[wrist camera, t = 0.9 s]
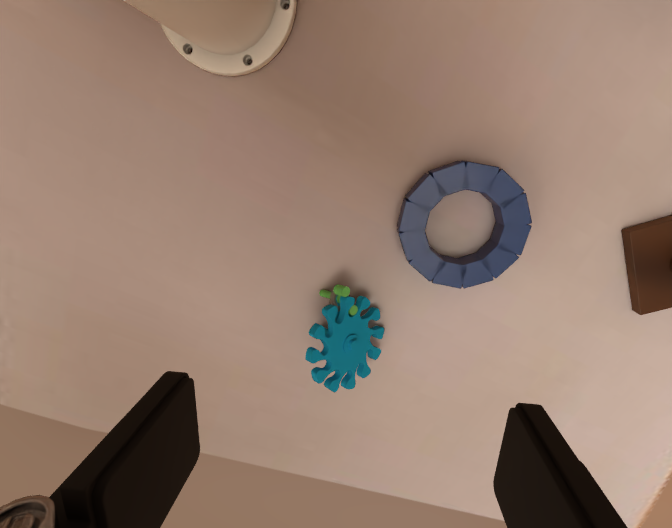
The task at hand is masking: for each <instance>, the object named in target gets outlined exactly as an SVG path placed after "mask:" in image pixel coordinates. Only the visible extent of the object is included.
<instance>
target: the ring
mask: <svg viewBox="0 0 672 528" xmlns="http://www.w3.org/2000/svg"><path fill="white" fill-rule="evenodd" d="M428 172H429V174H427V173H425V174H424V175H423V176H422V177H421V179H420V180H419V181H418V182H417V183H416V184H415V185H414V186H413V187H412V188H411V189H410V191H409V192H408V193H407V194H406V195H405V196H406V197H407V198H404V199H403V203H402V207H401V211H400V215H399V219H398V223H397V227H398V228H397V231H398V234H399V237H400V240H401V243H402V247H403V250H404V253H405V256H406V259H407V261H408V262H409V264H410V265H411V266H413V267H414V268H415V269H416V270H417V271H418V272H419V273H421V274H422V275H423V276H424V277H425V278H426V279H427V280H429V281H432V283H436V284H441V285H446V286H451V287H456V288H461V287H462V286H463V288H467V287H471V286H474V285H478V284H481V283H485V282H489V281H492V280H493V277H494V278H497V277H498V276H499V275H500V274H502V273H503V272H504V271H505V270H506V269H507V268H508V267H509V266H510V265H512V264H513V263H514V262H515V261H516V260H517V259H518V258H519V257H518V256H517V255H516V254H518V255H521V253H522V251H523V248H524V245H525V242H526V240H527V237H528V234H529V232H530V229H531V225H529V224H530V223H532V221H531V216H530V211H529V207H528V202H527V197H526V193H523V191H524V190H523V189H522V188H521V187H520V186H519V185H518V184H517V183H516V182H515V181H514V180H513V179H512V178H511V177H510V176H509V175H508V174H507V173H506V172H505V171H504V170H503V169H499V167H494V166H489V165H484V164H479V163H474V162H468V161H456V162H453V163H450V164H447V165H444V166H442V167H439V168H436V169H433V170H430V171H428ZM465 189H466V190H471V191H476V192H480V193H481V194H482V195H483V196H484V197H486V198H487V199H488V200H489V201H490V202H491V203H492V207H493V211H494V215H495V219H496V223H495V226H494V229H493V232H492V235H491V238H490V240H489V241H488V242H487V243H486V244H485V245H484V246H483V247H481V248H480V249H479V250H478V251H477V252H476V253H473V254H470V255H466V256H463V257H460V258H454V257H449V256H444V255H439V254H438V253H437V252H436V251H435V250H434V249H433V248H431V247H430V246H429V244H428V240H427V237H426V233H425V228H426V224H427V220H428V217H429V213H430V211H431V210H432V209H433V208H434V207H435V206H436V205H437V203H438V202H439V201H440V200H441V199H442V198H443V197H444V196H446V195H449V194H452V193H455V192H458V191H462V190H465Z"/></svg>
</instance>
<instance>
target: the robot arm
mask: <svg viewBox="0 0 672 528" xmlns="http://www.w3.org/2000/svg"><path fill="white" fill-rule="evenodd" d="M123 1H124V2H126V3H128V4H129V5H131V6H133V7H134V8H136V9H138V10H139V11H141V12H143V13H144V14H146V15H147V16H149V17H151V18H152V19H154V20H156V21H157V22H159V23H160V25H161V27H162V29H163V31H164V33H165V35H166V37H167V38H168V39H169V41H170V42H171V43H172V45H173V46H174V47H175V49H176V50H177V51H178V52H179V53H180V54H181V55H182V56H183V57H184V58H186V59H187V60H188V61H190V62H191V63H193V64H194V65H196V66H197V67H199V68H201V69H203V70H205V71H207V72H210V73H214V74H217V75H221V76H240V75H246V74H249V73H251V72H254V71H257V70H259V69H260V68H262V67H263V66H265V65H266V64H268V63H269V62H270V61H271V60H272V59H273V58H274V57H275V56H276V55H277V54H278V53H279V51H280V50H281V49H282V47H283V46H284V44H285V43H286V41H287V39H288V36H289V34H290V32H291V30H292V27H293V23H294V19H295V15H296V6H297V0H123ZM286 5H290V7H289V8H288V9H287V10H285V6H286ZM191 49H193V50H192V53H190V50H191ZM251 59H252V61H253V62H252V64H251V65H249V64H248V62H249V60H251ZM199 453H200V443H199V433H198V422H197V411H196V400H195V389H194V381H193V379H192V378H189V376H188V374H187V373H183V372H172V371H168V372H166V373H164V374H163V376H162V377H161V378H160V379H159V380H158V381H157V382H156V383H155V384H154V385H153V386H152V387H151V389H150V390H149V391H148V392H147V393H146V394H145V395H144V396H143V397H142V398H141V399H140V400H139V401H138V403H137V404H136V405H135V406H134V407H133V408H132V409H131V410H130V411H129V412H128V413H127V414H126V416H125V417H124V418H123V419H122V420H121V421H120V422H119V423H118V424H117V425H116V426H115V427H114V428H113V429H112V430H111V431H110V432H109V433H108V435H107V436H106V437H105V438H104V439H103V440H102V441H101V442H100V443H99V444H98V445H97V447H96V448H95V449H94V450H93V451H92V452H91V453H90V454H89V455H88V456H87V457H86V458H85V459H84V460H83V462H82V463H81V464H80V465H79V466H78V467H77V468H76V469H75V470H74V471H73V472H72V474H71V475H70V476H69V477H68V478H67V479H66V480H65V481H64V482H63V483H62V484H61V485H60V487H58V489H57V490H56V491H55V492H54V493H53V494H52V495H51V496H50V497H46V496H42V495H35V496H27V497H23V498H20V499H17V500H14V501H12V502H10V503H8V504H6V505H3V506H2V507H0V528H160V527H161V525H162V523H163V522H164V520H165V518H166V516H167V514H168V512H169V511H170V509H171V507H172V505H173V504H174V502H175V500H176V498H177V496H178V495H179V493H180V491H181V489H182V487H183V486H184V484H185V482H186V480H187V478H188V477H189V475H190V473H191V471H192V470H193V468H194V466H195V464H196V462H197V460H198V457H199ZM494 492H495V495H496V498H497V501H498V504H499V506H500V509H501V512H502V514H503V517H504V520H505V523H506V525H507V528H627V526H626V525H625V523H624V522H623V521H622V519H621V518H620V516H619V515H618V513H617V512H616V510H615V509H614V507H613V506H612V504H611V503H610V502H609V500H608V499H607V497H606V496H605V494H604V493H603V491H602V490H601V488H600V487H599V486H598V484H597V483H596V481H595V480H594V478H593V477H592V475H591V474H590V472H589V471H588V470H587V468H586V467H585V466H584V464H583V463H582V462H581V461H579V460H578V458H577V457H576V455H575V454H574V452H573V451H572V450H571V448H570V447H569V445H568V444H567V442H566V441H565V439H564V438H563V436H562V435H561V433H560V432H559V430H558V429H557V427H556V426H555V425H554V423H553V422H552V420H551V419H550V417H549V416H548V414H547V413H546V411H545V410H544V408H543V407H542V406H541V405H537V404H526V403H518V404H517V405H516V407H515V408H510V410H509V414H508V418H507V423H506V427H505V431H504V436H503V440H502V445H501V449H500V454H499V458H498V463H497V467H496V472H495V476H494Z"/></svg>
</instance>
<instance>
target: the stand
mask: <svg viewBox="0 0 672 528" xmlns="http://www.w3.org/2000/svg"><path fill="white" fill-rule="evenodd" d="M622 236H623V243H624V250H625V258H626V265H627V273H628V280H629V287H630V295H631V302H632V310H633V311H635V312H636V313H638V314H640V315H643V314H647V313H651V312H655V311H659V310H663V309H667V308H671V307H672V215H671V216H667V217H664V218H660V219H657V220H653V221H650V222H646V223H643V224H639V225H636V226H632V227H629V228H625V229H622Z"/></svg>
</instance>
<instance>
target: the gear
mask: <svg viewBox="0 0 672 528" xmlns="http://www.w3.org/2000/svg"><path fill="white" fill-rule="evenodd" d="M349 293H350V289H349V287H346V286H343V285H336V286H335V287H334V290H333V291H332V292H330V291H326V290H320V292H319V294H320V296H322V297H326V298H329V299H330V305H327V306H325V307H324V308H323V309H322V314H323V315H324V316H325V318H326V319H327V322H328V329H327V328H324V327H323V326H322V325H319V324H317V323H315V324H314V325H313V326H312V328H311V329H310V331H309V335H310V336H312V337H314V338H316V339H320V340H321V341H322V343H323V345H324V348H323V351H322V352H319V350H317V349H315V348H313V347H309V348H308V349H307V352H306V360H307V361H309V362H311V363H316V362H318V361H320V360H326V361H327V363H326V365H325V367H324V368H319V367H315V368H314V369H312V371H311V374H312V378H313V380H314V381H315V382H317V383H322V382H323V381H324V379H325V378H326V377H327V376H328V375H329V374H330V373H331V372H333V371H335V374H334V375H333V376H332V377H330V378H328V379H326V381H325V383H324V385H325V387H326V388H328V389H330V390H331V391H333V392H336V391H337V390H338V388H339V384H340V381H341V379H342V377H343V376H344V375H345V373H346V372H347V374H346V375H345V377H344V378H343V379H342V381H341V386H343V387H344V388H346V389H353V388H354V387H355V372H356V369H357V375H358V376H360V377H362V378H365V377H367V376H368V375H369V374H370V372H371V370H370V368H369V367H368V365H367V362H366V353H367V351H368V357H370V358H372V359H374V360H376V359H377V358H378V357H379V355H380V353H381V350H380V349H379V348H377V347H374V346H373V345H372V344H371V342H370V337H371V335H372V336H373V337H375V338H378V339H382V337H383V334H384V328H383V327H380V326H374V327H372V328H368V322H369V321H370V320H371V319H372V320H375V321H377V320H379V319H380V311H379V309H378V308H374V307H371V308H370V309H369V310H368V312H367V313H366V314H365V315H363V316H361V317H360V313H361V311H362V310H364V309H367V308H368V307H369V306H370V301H369V300H368V299H367V298H366V297H364V296H359V297H358V298H357V300H356V304H355V305H354V302H355V298H353V297H350V296H348V295H349ZM358 365H359V366H358ZM357 367H358V368H357Z"/></svg>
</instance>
